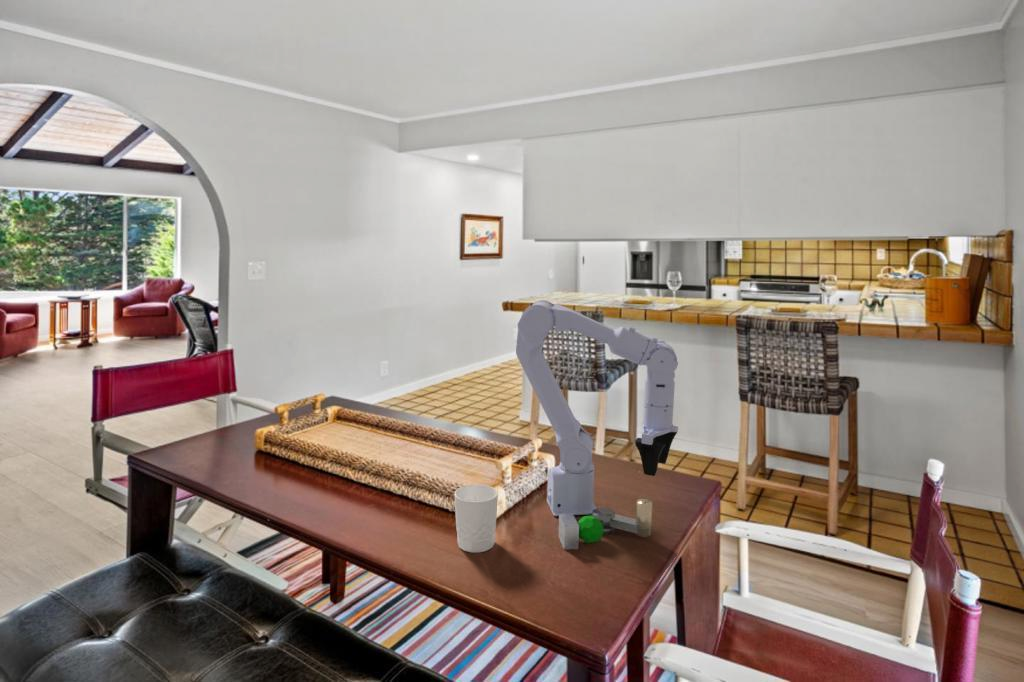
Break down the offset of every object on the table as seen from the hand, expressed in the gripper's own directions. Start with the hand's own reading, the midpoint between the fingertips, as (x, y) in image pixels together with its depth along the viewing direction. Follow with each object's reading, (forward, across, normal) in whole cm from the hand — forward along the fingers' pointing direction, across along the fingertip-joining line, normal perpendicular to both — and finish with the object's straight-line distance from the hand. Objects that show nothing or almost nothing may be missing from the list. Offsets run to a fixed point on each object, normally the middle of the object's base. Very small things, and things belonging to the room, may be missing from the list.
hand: (655, 468), depth 124 cm
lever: (+9, -11, +3) cm, 15 cm away
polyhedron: (+10, -17, +7) cm, 21 cm away
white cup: (+10, -29, +25) cm, 39 cm away
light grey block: (+10, -20, +10) cm, 24 cm away
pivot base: (+10, -11, +7) cm, 16 cm away
